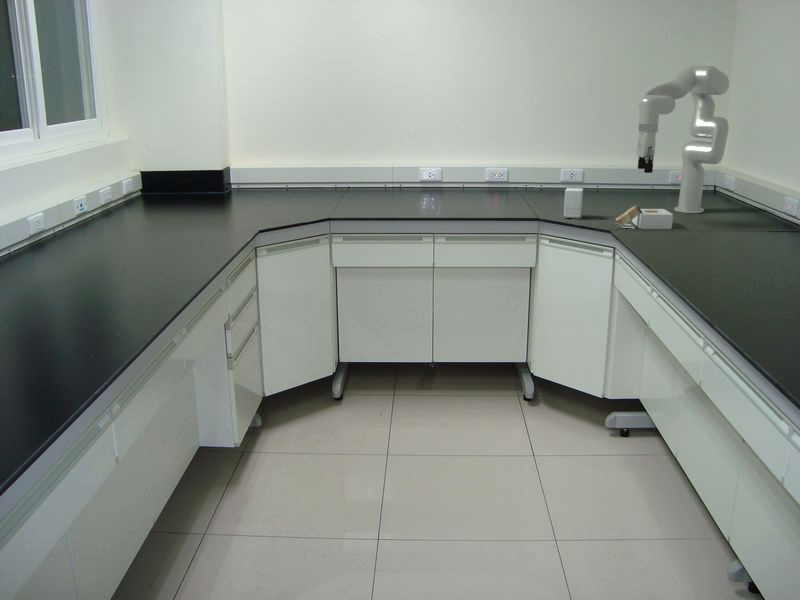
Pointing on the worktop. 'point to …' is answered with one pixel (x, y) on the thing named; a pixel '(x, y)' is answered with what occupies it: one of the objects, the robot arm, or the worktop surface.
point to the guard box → (654, 219)
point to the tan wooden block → (628, 215)
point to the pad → (628, 226)
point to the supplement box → (573, 202)
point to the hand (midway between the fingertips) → (644, 170)
